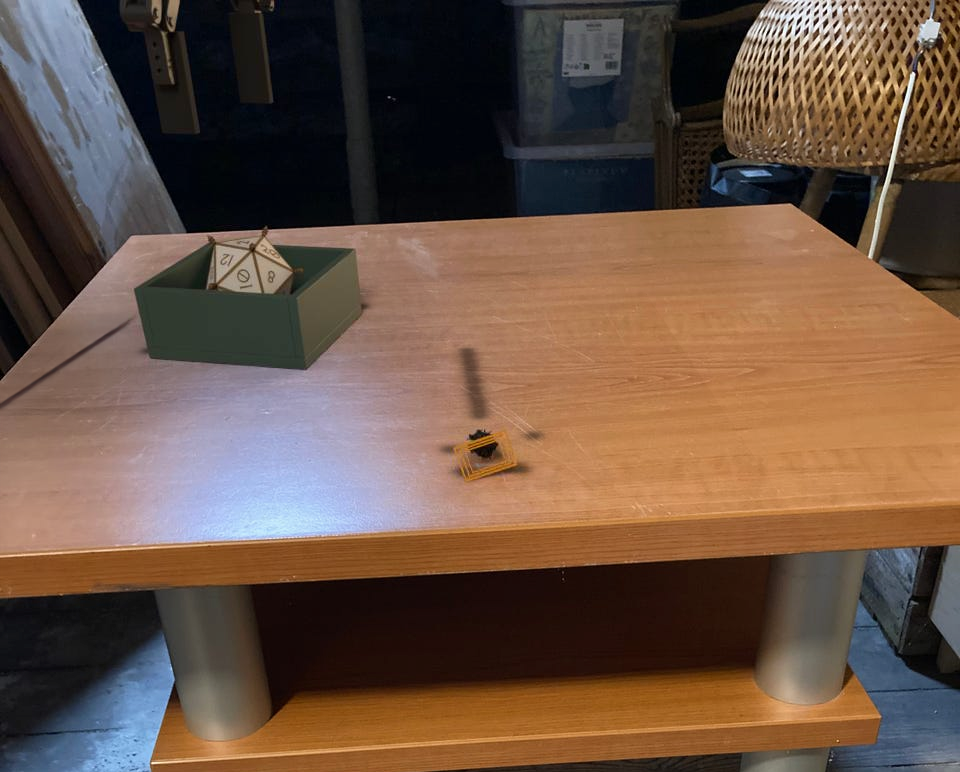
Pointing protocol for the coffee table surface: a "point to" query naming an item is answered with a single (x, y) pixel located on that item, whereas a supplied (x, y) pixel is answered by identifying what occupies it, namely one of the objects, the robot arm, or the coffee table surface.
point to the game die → (249, 266)
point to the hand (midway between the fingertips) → (221, 117)
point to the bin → (251, 311)
